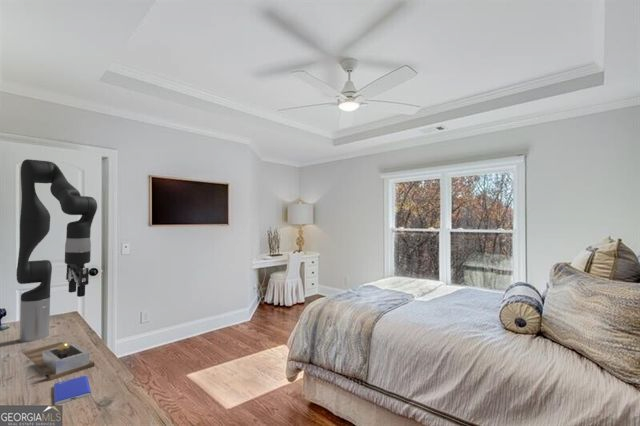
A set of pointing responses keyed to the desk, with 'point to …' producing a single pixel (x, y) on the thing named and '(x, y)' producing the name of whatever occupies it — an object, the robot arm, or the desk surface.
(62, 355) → the post
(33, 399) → the desk surface
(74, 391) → the hard drive
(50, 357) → the grey rectangular frame
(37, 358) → the brown wooden board
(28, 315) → the robot arm
